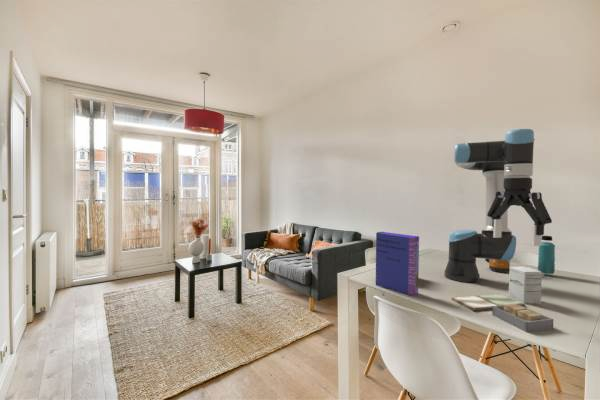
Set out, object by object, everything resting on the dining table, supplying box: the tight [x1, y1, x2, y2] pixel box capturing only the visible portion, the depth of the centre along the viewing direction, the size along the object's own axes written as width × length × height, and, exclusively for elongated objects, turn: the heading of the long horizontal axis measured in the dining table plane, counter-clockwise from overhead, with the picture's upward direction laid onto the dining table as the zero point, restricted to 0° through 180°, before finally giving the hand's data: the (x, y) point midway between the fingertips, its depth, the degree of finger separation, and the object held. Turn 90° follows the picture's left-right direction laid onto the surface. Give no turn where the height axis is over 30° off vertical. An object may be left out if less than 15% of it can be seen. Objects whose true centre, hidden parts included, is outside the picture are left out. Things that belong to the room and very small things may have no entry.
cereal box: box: [375, 231, 420, 297], centre depth 124 cm, size 17×5×24 cm, turn 42°
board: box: [451, 293, 526, 313], centre depth 108 cm, size 11×22×2 cm, turn 102°
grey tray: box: [491, 304, 554, 333], centre depth 93 cm, size 12×10×4 cm
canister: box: [484, 259, 511, 273], centre depth 153 cm, size 9×11×20 cm
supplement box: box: [507, 266, 543, 305], centre depth 111 cm, size 7×7×13 cm
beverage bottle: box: [537, 235, 556, 275], centre depth 144 cm, size 6×7×20 cm
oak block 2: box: [518, 309, 541, 321], centre depth 91 cm, size 4×4×4 cm
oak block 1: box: [504, 304, 526, 317], centre depth 95 cm, size 4×4×4 cm
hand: (515, 241), depth 96 cm, fingers open, 13 cm apart
